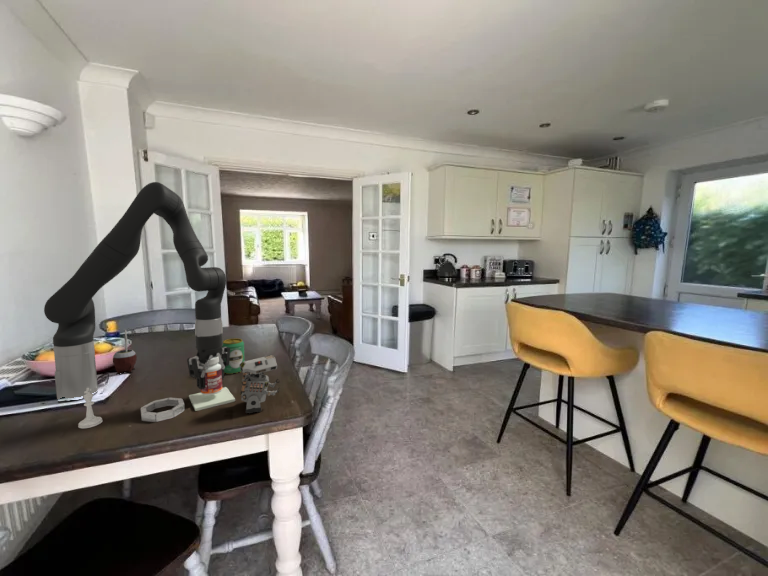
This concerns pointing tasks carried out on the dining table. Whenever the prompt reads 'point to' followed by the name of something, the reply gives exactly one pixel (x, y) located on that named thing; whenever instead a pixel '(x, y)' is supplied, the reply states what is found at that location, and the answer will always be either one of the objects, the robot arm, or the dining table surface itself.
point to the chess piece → (89, 412)
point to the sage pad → (211, 399)
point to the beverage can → (234, 355)
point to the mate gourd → (124, 359)
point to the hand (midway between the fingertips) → (211, 384)
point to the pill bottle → (212, 377)
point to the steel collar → (164, 415)
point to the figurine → (257, 382)
